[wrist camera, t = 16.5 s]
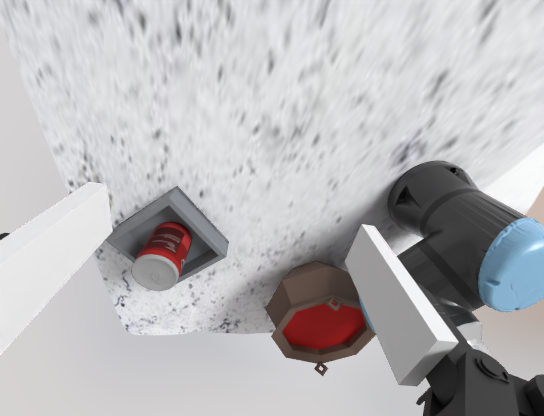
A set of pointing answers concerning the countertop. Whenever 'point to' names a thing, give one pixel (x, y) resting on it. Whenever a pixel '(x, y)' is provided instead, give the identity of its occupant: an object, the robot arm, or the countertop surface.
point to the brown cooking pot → (318, 315)
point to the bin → (172, 208)
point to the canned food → (162, 257)
